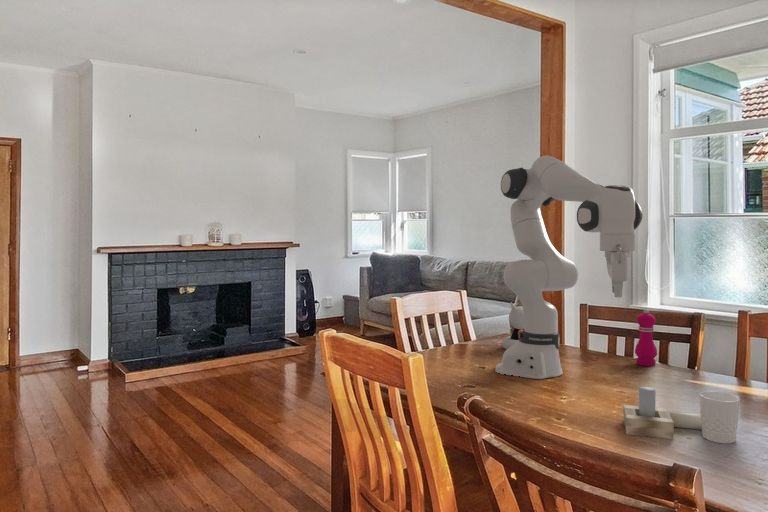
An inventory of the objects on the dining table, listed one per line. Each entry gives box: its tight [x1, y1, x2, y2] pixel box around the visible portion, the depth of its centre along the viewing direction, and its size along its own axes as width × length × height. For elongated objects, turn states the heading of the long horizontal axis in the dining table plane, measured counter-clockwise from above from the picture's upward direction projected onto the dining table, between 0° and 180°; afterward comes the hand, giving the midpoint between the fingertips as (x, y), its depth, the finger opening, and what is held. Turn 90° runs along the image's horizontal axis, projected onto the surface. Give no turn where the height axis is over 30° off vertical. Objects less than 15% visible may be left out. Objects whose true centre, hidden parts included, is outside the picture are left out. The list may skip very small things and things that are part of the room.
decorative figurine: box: [501, 301, 524, 351], centre depth 218 cm, size 15×15×20 cm
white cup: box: [699, 390, 740, 444], centre depth 125 cm, size 8×8×10 cm
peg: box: [638, 386, 657, 417], centre depth 131 cm, size 4×4×10 cm
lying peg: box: [668, 411, 702, 431], centre depth 132 cm, size 10×4×4 cm
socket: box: [622, 404, 675, 440], centre depth 131 cm, size 10×10×4 cm
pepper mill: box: [634, 308, 658, 367], centre depth 192 cm, size 7×7×20 cm
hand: (616, 294), depth 147 cm, fingers open, 8 cm apart
